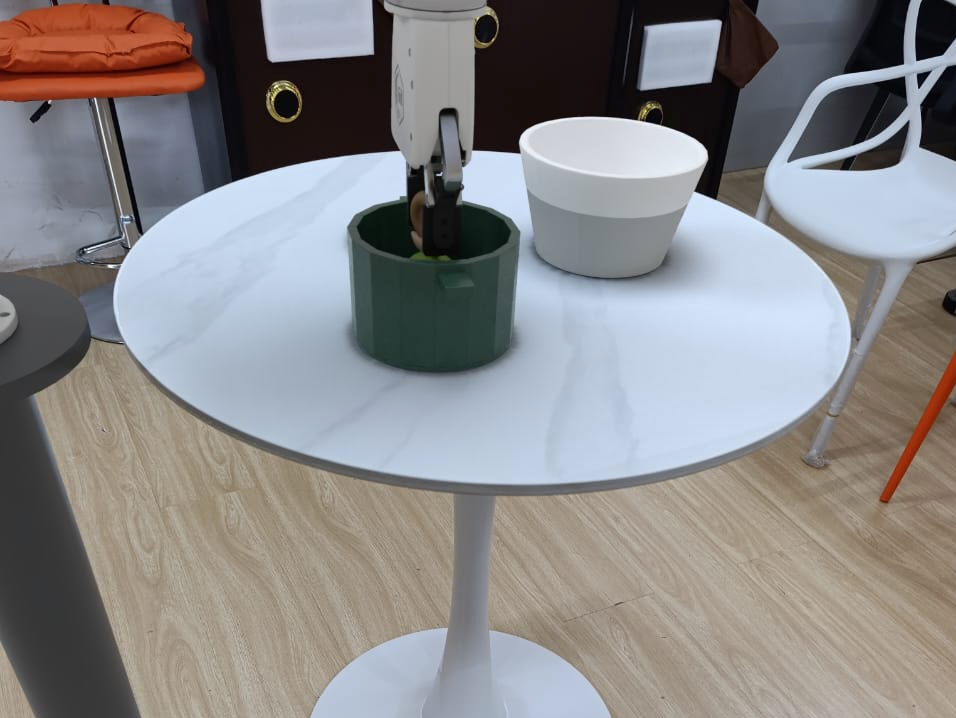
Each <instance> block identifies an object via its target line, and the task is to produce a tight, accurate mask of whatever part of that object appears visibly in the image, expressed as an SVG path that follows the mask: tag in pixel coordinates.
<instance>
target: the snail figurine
mask: <svg viewBox="0 0 956 718" xmlns="http://www.w3.org/2000/svg"><path fill="white" fill-rule="evenodd" d="M461 186H462V191H464V190H465V185H464V183H462V185H461ZM425 204H426V193H425V190H424V191H420V192H418V193H417V194H416V195H415V196H414V198H413V200H412V203H411V209H410V213H411V220H412V224H413V226H414V228H415V230H416V232H415V231H412V232H411V236H412V239H413V241H414V244H415V245H416V247H417V248H418V249H419V250H420V251H421V252H418V253H416V254H414V255H413V256H412V257H410V259H419V260H429V261H446V260H451V259H450V258H449V257H447V256H429V257H427V256H425V255H424V253H423V251H422V205H425Z"/></svg>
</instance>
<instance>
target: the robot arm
mask: <svg viewBox="0 0 956 718" xmlns="http://www.w3.org/2000/svg"><path fill="white" fill-rule="evenodd" d="M487 3H488V0H383V7H384V9H385V11H387V12H388V13H390V14H393V23H392V44H391V46H392V47H391V101H390V102H391V105H390V107H391V108H390V112H391V113H390V126H391V127H390V128H391V134H392V137H393V139H394V142H395V143H396V145H397V148H398V149H399V151H400V153H401V155H402V156H403V158H404V160H405V162H406V161H407V162H408V173H409V175H415V177H407V220H408V223H409V225H410V226H411V227H414V226H413V224H412V220H411V213H410V209H411V203H412V200H413V198H414V196H415V195H416V194H417V193H418V192H420V191H424V190H425V193H426V204H425V205H422V251H423V253H424V255H425V256H427V257H429V256H447V255H458V254H459V253H460V251H461V225H462V201H463V190H462V186H461V185H462V184H463V179H464V173H463V168H466V166H468V164H470V162H471V161H472V155H473V146H474V130H475V129H474V128H475V127H474V126H475V73H476V71H475V55H476V49H475V19H478V18H481V17H484V16H485V15H486V14H487V5H488V4H487ZM436 174H437V176H436ZM17 325H18V316H17V313H16V311H15V308H14V305H13V304H12V303H11V302H10V301H9V299H7V298H5V297H4V296H2V295H0V344H2V343H3V342H4V341H6V340H7V339H8V338H9V337H10V336H11V335H12V334H13V332H14V331H15V330H16V328H17Z"/></svg>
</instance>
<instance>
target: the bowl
mask: <svg viewBox="0 0 956 718" xmlns="http://www.w3.org/2000/svg"><path fill="white" fill-rule="evenodd" d="M518 145H519V151H520V158H521V164H522V171H523V176H524V183H525V187H526V188H525V189H526V194H527V200H528V207H529V214H530V220H531V226H532V234H533V240H534V245H535V250H536V253H537V254H538V255H539V257H540V258H541V259H542V260H543V261H545V262H546V263H548V264H550V265H551V266H553V267H555V268H558V269H560V270H563V271H566V272H569V273H572V274H576V275H580V276H587V277H593V278H603V279H620V278H630V277H635V276H636V277H637V276H641V275H644V274H648V273H650V272H652V271H654V270H656V269H658V268H659V267H660V266H661V265H662V263H663V261H664V260H665V257H666V255H667V253H668V250H669V248H670V245H671V244H672V242H673V239H674V236H675V235H676V233H677V230H678V228H679V225H680V223H681V221H682V219H683V216H684V214H685V211H687V207H688V205H689V203H690V202H691V199H692V197H693V194H694V193H695V190H696V188H697V185H698V183H699V181H700V178H701V176H702V174H703V172H704V169H705V167H706V166H707V163H708V161H709V155H708V150H707V149H706V147H705V146H704V144H702V143H700V141H698V140H697V139H696V138H694V137H691V136H690V135H688V134H686V133H684V132H681V131H678V130H676V129H673V128H671V127H667V126H664V125H661V124H660V125H659V124H656V123H653V122H652V123H651V122H647V121H642V120H635V119H628V118H621V117H607V116H583V117H582V116H577V117H566V118H565V117H564V118H558V119H553V120H547V121H544V122H540V123H537V124H535V125H533V126H531V127H528V128H527V129H525V130H524V131H523V132H522V134H521V135H520V138H519V141H518Z"/></svg>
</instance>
